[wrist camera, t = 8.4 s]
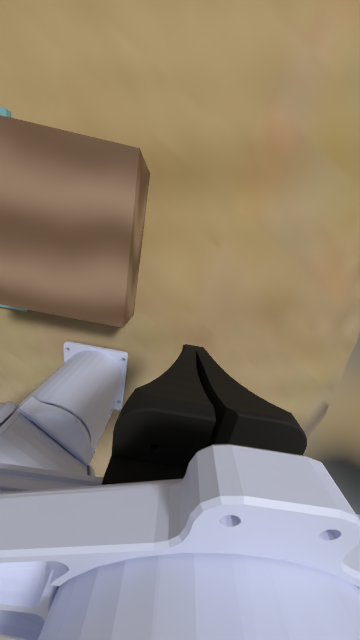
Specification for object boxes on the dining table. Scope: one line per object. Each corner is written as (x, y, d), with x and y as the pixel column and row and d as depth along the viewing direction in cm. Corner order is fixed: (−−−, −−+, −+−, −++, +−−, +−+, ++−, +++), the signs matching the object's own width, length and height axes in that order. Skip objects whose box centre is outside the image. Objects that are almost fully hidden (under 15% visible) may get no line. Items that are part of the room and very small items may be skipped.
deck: (133, 315, 21) (122, 327, 17) (30, 294, 20) (-5, 303, 17) (149, 173, 16) (139, 148, 12) (16, 142, 16) (-37, 106, 12)
